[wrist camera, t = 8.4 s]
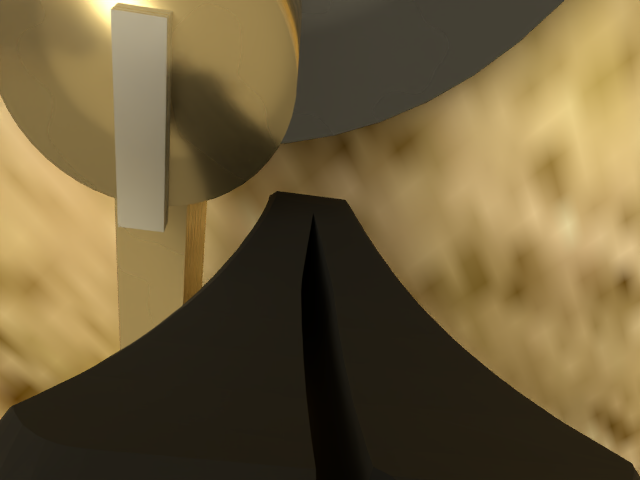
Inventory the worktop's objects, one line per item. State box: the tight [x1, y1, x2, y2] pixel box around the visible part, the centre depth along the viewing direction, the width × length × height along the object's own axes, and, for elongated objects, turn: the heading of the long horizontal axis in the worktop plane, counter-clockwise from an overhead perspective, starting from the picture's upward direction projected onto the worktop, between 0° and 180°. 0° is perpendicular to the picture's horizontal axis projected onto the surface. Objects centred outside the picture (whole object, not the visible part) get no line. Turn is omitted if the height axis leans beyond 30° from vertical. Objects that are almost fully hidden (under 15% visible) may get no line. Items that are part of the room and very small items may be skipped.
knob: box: [0, 0, 302, 350], centre depth 10 cm, size 9×4×4 cm, turn 171°
